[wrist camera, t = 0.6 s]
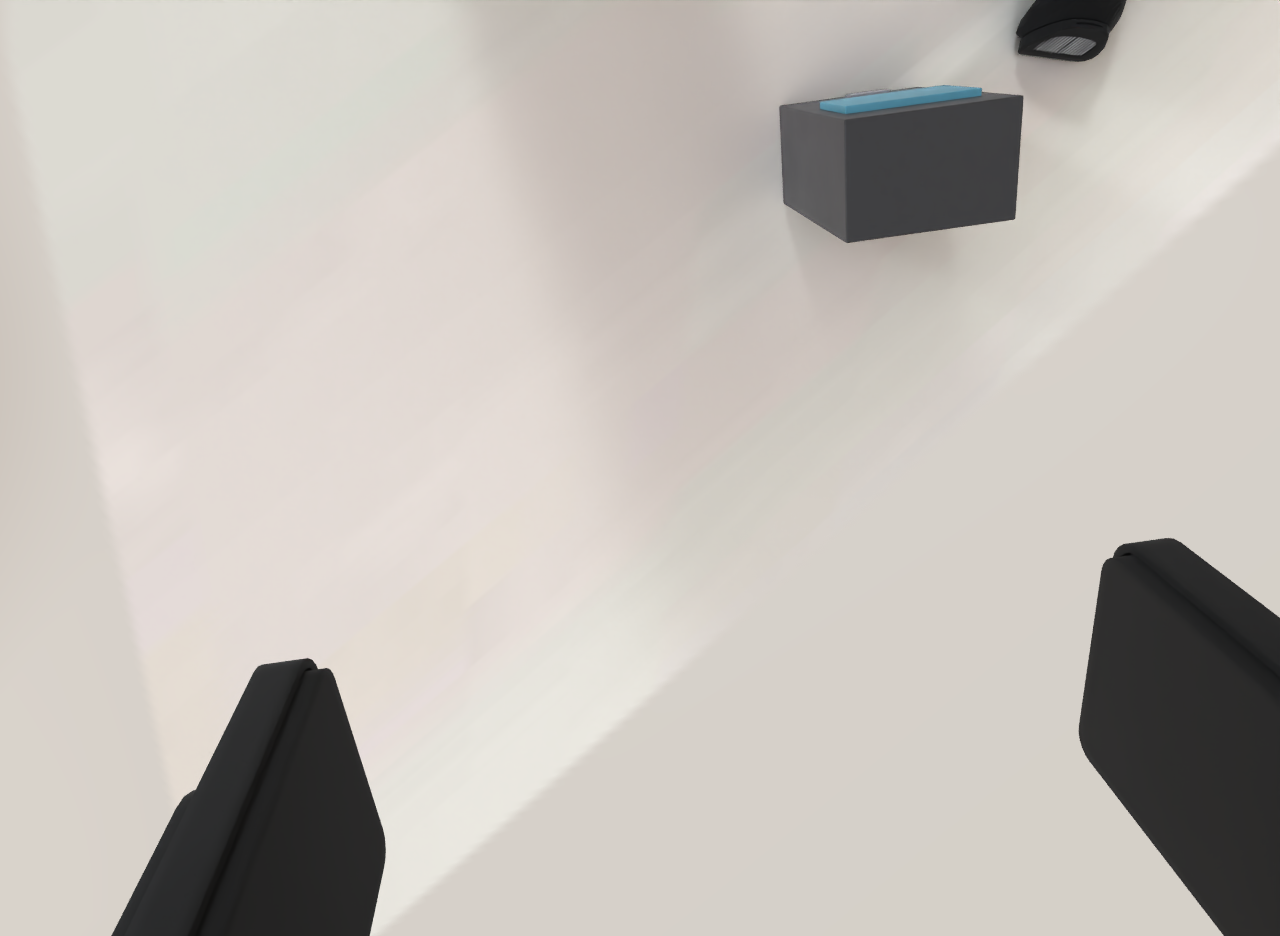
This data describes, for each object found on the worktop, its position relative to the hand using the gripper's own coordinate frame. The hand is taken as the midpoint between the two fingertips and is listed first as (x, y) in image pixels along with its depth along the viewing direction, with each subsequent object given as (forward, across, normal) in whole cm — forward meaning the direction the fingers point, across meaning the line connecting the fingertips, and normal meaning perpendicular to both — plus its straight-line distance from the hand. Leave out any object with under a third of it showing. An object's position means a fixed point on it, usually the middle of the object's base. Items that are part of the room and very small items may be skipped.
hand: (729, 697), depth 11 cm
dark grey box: (+30, -11, -3) cm, 32 cm away
